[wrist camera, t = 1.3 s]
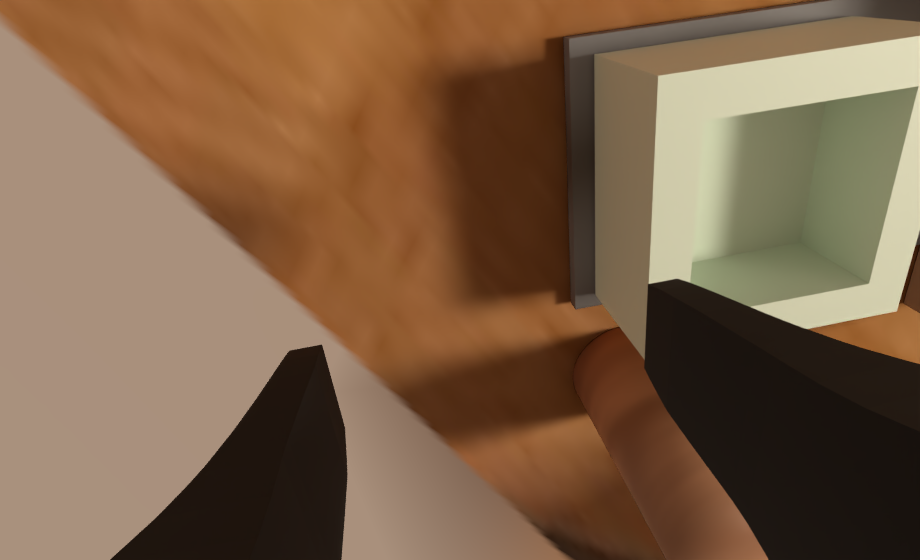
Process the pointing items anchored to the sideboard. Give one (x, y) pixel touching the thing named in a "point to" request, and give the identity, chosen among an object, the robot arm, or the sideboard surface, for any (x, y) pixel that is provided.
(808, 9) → the block
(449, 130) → the sideboard surface
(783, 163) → the socket block
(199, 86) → the sideboard surface
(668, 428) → the dowel
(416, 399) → the sideboard surface
